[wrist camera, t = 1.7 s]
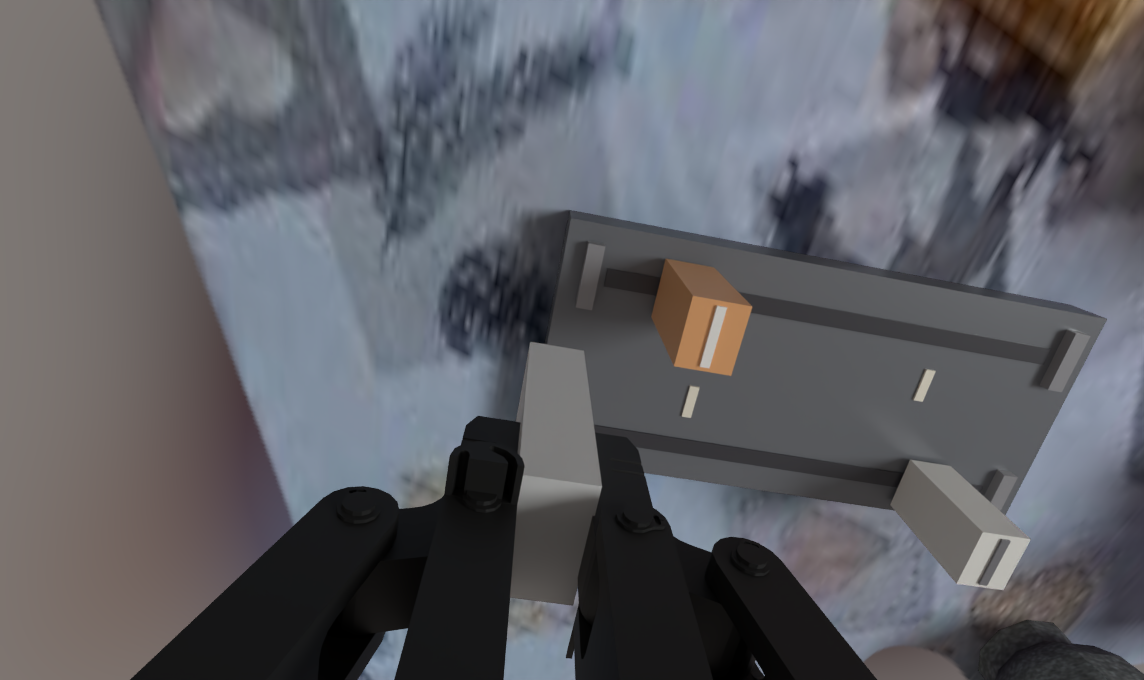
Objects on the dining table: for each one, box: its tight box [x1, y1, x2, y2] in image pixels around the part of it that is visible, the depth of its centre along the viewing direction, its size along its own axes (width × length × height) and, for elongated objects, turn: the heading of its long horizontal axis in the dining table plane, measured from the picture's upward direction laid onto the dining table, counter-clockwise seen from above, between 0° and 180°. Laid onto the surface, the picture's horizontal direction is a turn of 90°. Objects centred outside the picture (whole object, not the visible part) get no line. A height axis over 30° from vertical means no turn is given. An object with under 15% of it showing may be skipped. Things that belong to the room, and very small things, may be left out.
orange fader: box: [651, 259, 752, 376], centre depth 27 cm, size 3×2×6 cm
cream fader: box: [890, 460, 1031, 590], centre depth 32 cm, size 3×2×6 cm
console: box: [545, 210, 1107, 515], centre depth 34 cm, size 13×28×3 cm, turn 79°
